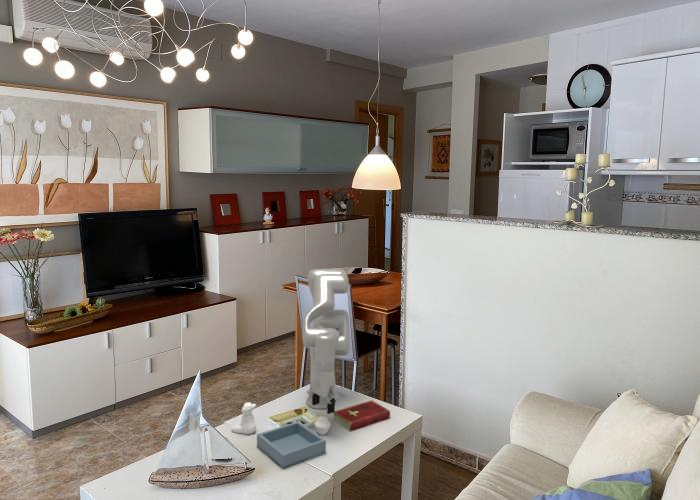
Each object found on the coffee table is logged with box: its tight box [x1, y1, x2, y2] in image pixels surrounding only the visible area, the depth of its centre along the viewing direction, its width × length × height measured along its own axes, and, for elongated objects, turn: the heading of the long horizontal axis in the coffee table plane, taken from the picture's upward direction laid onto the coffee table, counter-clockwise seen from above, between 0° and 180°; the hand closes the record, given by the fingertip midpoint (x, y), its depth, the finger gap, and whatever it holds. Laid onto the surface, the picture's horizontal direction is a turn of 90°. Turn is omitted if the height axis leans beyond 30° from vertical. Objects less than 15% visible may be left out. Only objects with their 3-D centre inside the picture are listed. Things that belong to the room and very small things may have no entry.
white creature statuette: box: [230, 401, 257, 435], centre depth 208 cm, size 10×9×12 cm
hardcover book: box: [332, 400, 391, 432], centre depth 222 cm, size 12×21×4 cm, turn 127°
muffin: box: [314, 415, 331, 436], centre depth 209 cm, size 6×6×7 cm
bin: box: [256, 421, 327, 470], centre depth 195 cm, size 18×18×5 cm
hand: (323, 408), depth 207 cm, fingers open, 9 cm apart
